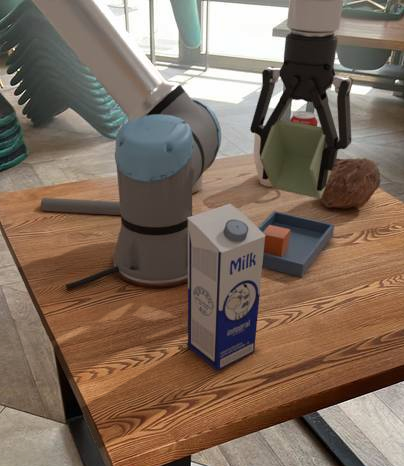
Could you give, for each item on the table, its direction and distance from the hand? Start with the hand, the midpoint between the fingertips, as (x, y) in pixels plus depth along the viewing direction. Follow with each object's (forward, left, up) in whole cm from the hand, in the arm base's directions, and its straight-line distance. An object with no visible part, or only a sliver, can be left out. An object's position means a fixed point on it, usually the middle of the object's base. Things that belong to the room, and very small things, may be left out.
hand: (294, 182), depth 97 cm
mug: (+8, +29, -13) cm, 33 cm away
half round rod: (-34, +23, -13) cm, 43 cm away
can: (-13, +30, -13) cm, 35 cm away
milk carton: (-19, -27, -13) cm, 35 cm away
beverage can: (+16, +38, -13) cm, 43 cm away
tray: (0, 0, -12) cm, 12 cm away
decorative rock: (+18, +16, -13) cm, 27 cm away
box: (+3, +4, 0) cm, 5 cm away
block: (-2, 0, -10) cm, 10 cm away
